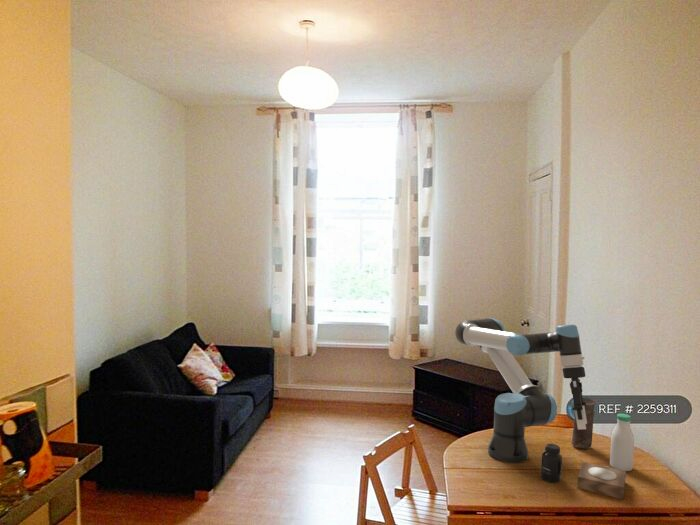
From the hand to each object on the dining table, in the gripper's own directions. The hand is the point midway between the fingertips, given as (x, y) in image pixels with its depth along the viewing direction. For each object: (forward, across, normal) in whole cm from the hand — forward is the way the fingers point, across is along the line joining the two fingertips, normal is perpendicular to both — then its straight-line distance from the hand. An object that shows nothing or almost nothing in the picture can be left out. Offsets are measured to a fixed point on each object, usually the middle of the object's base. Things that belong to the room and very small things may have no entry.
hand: (582, 426), depth 189 cm
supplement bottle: (+17, -6, +13) cm, 22 cm away
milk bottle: (+18, +18, -10) cm, 27 cm away
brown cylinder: (+12, +30, +3) cm, 33 cm away
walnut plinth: (+20, -2, -3) cm, 20 cm away
